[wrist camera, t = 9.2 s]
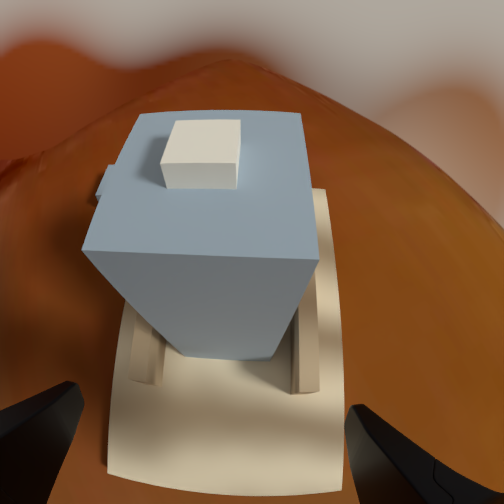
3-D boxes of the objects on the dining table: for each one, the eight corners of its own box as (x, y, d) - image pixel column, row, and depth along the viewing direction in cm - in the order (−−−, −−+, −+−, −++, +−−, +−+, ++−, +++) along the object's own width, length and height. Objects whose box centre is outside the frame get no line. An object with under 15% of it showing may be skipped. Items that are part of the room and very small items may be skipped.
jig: (337, 487, 13) (359, 502, 10) (112, 471, 13) (84, 481, 10) (323, 195, 24) (333, 162, 21) (157, 190, 24) (146, 157, 21)
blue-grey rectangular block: (269, 361, 16) (329, 237, 5) (185, 356, 16) (64, 229, 5) (270, 284, 19) (303, 92, 7) (193, 280, 19) (135, 94, 7)
